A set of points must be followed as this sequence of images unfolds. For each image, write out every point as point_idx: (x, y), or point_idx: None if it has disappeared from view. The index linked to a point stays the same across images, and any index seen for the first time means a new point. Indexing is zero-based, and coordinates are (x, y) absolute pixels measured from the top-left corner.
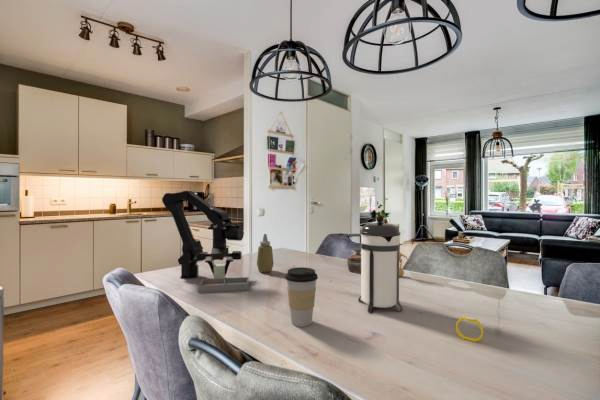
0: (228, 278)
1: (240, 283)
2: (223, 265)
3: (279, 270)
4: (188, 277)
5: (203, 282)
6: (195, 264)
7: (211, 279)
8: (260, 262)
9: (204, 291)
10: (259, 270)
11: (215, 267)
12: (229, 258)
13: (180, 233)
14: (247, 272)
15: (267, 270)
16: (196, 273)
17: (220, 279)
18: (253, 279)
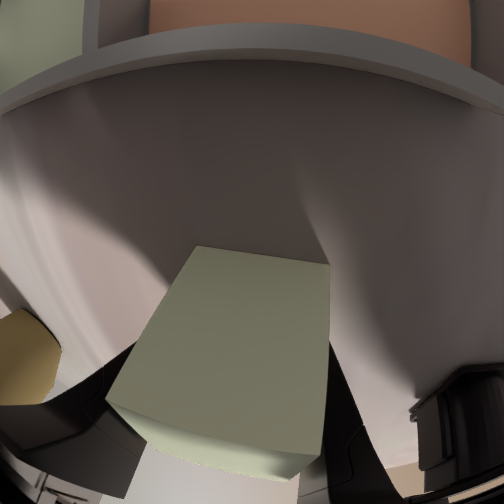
0: (62, 63)
1: (20, 58)
2: (145, 430)
3: None
4: (495, 366)
5: (488, 70)
6: (459, 469)
7: (377, 40)
8: (6, 358)
9: None
10: (43, 336)
11: (281, 432)
12: (11, 465)
13: None
14: (100, 357)
15: (12, 313)
16: (445, 404)
17: (182, 33)
18: (8, 208)
